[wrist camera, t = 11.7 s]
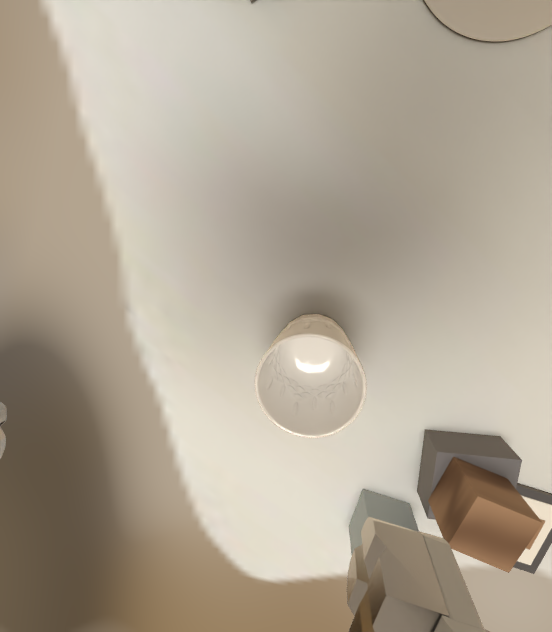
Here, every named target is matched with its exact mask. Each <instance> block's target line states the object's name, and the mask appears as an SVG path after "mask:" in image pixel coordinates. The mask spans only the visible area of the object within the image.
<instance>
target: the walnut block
mask: <svg viewBox="0 0 552 632" xmlns="http://www.w3.org/2000/svg"><path fill="white" fill-rule="evenodd" d="M428 502H429V504H430V507H431V509H432V511H433V514H434V516H435V519H436V521H437V524H438V526H439V528H440V531H441V533H442V536H443V538H444V539H445V540H446V541H447V542H448V543H449V545H450V547H451V549H454V550H456V551H459V552H461V553H463V554H466V555H468V556H470V557H473V558H475V559H477V560H480V561H482V562H485V563H487V564H489V565H492V566H494V567H496V568H499V569H501V570H504V571H506V572H508V573H509V572H510V570H511V569H512V567H513V566H514V565H515V563H516V562H517V560H518V559H519V557H520V556H521V554H522V553H523V551H524V550H525V548H526V547H527V546H528V544H529V543H530V541H531V540H532V538H533V537H534V535H535V534H536V532H537V531H538V529H539V528H540V527H541V525H542V524H543V523H542V521H541V520H540V519H539V517H538V516H537V515H536V514H535V512H534V511H533V510H532V509H531V507H530V506H529V505H528V504H527V502H526V501H525V500H524V499H523V497H522V496H521V495H520V494H519V492H518V491H517V490H516V489H515V487H514V486H513V485H512V484H511V482H510V481H509V480H508V479H507V478H505V477H503V476H500V475H498V474H495V473H493V472H490V471H488V470H485V469H483V468H480V467H478V466H475V465H473V464H471V463H468V462H466V461H463V460H461V459H458V458H456V457H453V458H452V460H451V461H450V463H449V465H448V466H447V468H446V470H445V472H444V473H443V475H442V477H441V479H440V480H439V482H438V484H437V486H436V487H435V489H434V491H433V493H432V494H431V496H430V498H429V500H428Z"/></svg>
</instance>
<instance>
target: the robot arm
mask: <svg viewBox="0 0 552 632" xmlns="http://www.w3.org/2000/svg"><path fill="white" fill-rule="evenodd" d="M425 2H426V4H427V6H428V7H429V8H430V10H431V11H432V12H433V13H434V15H435V16H436V17H437V18H438V19H439V20H440V21H441V22H442V23H444V24H445V25H446V26H448V27H449V28H450V29H452V30H454V31H455V32H457V33H459V34H462V35H464V36H467V37H469V38H473V39H477V40H482V41H508V40H514V39H519V38H522V37H526V36H529V35H531V34H534V33H537V32H539V31H541V30H543V29H545V28H547V27H549V26H551V25H552V0H425ZM6 419H7V418H6V406H5V405H4V404H2V403H1V402H0V426H1V425H2V424H3V423H4V422H5V421H6ZM5 442H6V437H5V435H4V433H3V431H2V429H1V428H0V458H1V457H2V454H3V451H4V449H5ZM361 536H362V545H360V546H358V547H357V548H355V549H354V552H353V555H352V557H351V560H350V565H349V570H348V576H347V603H348V606H349V607H350V609H351V611H352V613H353V614H354V619H353V622H352V624H351V627H350V629H349V632H490V631H487V630H485V629H484V627H483V625H482V622H481V620H480V617H479V615H478V613H477V610H476V608H475V605H474V603H473V601H472V598H471V596H470V593H469V591H468V588H467V586H466V583H465V581H464V579H463V576H462V574H461V571H460V569H459V566H458V564H457V562H456V559H455V557H454V554H453V552H452V549H451V547H450V545H449V543H448V542H447V541H446V540H445V539H444V538H441V537H437V536H434V535H430V534H427V533H423V532H420V531H418V532H417V531H414V530H411V529H408V528H405V527H401V526H398V525H395V524H391V523H388V522H385V521H382V520H378V519H375V518H372V517H368V518H367V520H366V521H365V523H364V525H363V528H362V530H361Z"/></svg>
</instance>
